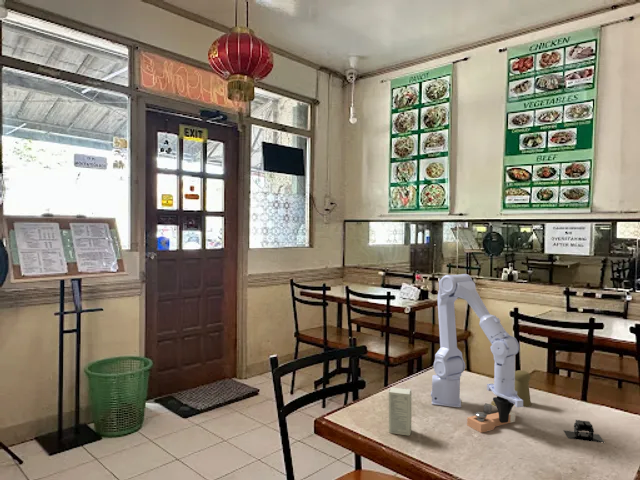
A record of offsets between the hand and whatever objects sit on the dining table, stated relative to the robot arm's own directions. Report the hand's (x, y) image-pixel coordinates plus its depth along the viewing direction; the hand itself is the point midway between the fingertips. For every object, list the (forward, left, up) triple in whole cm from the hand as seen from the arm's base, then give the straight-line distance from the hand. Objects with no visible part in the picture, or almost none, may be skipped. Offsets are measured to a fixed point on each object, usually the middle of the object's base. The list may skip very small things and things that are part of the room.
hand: (503, 421), depth 134 cm
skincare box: (-30, -13, -1) cm, 33 cm away
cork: (+8, +21, -1) cm, 22 cm away
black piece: (+21, 0, -2) cm, 21 cm away
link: (-3, 0, -1) cm, 3 cm away
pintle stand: (-3, +3, -1) cm, 4 cm away
